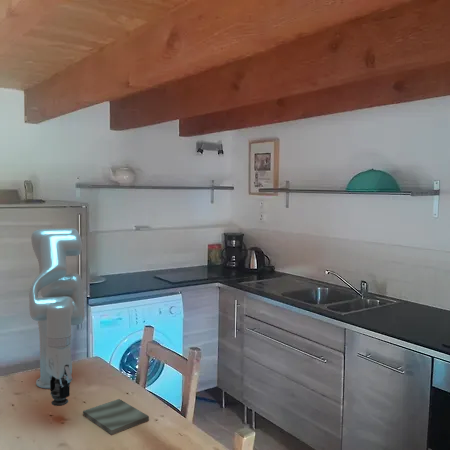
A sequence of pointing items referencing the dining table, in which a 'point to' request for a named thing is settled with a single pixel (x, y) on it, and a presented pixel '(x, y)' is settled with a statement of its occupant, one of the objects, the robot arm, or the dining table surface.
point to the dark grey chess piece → (56, 396)
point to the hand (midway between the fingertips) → (59, 393)
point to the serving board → (115, 416)
